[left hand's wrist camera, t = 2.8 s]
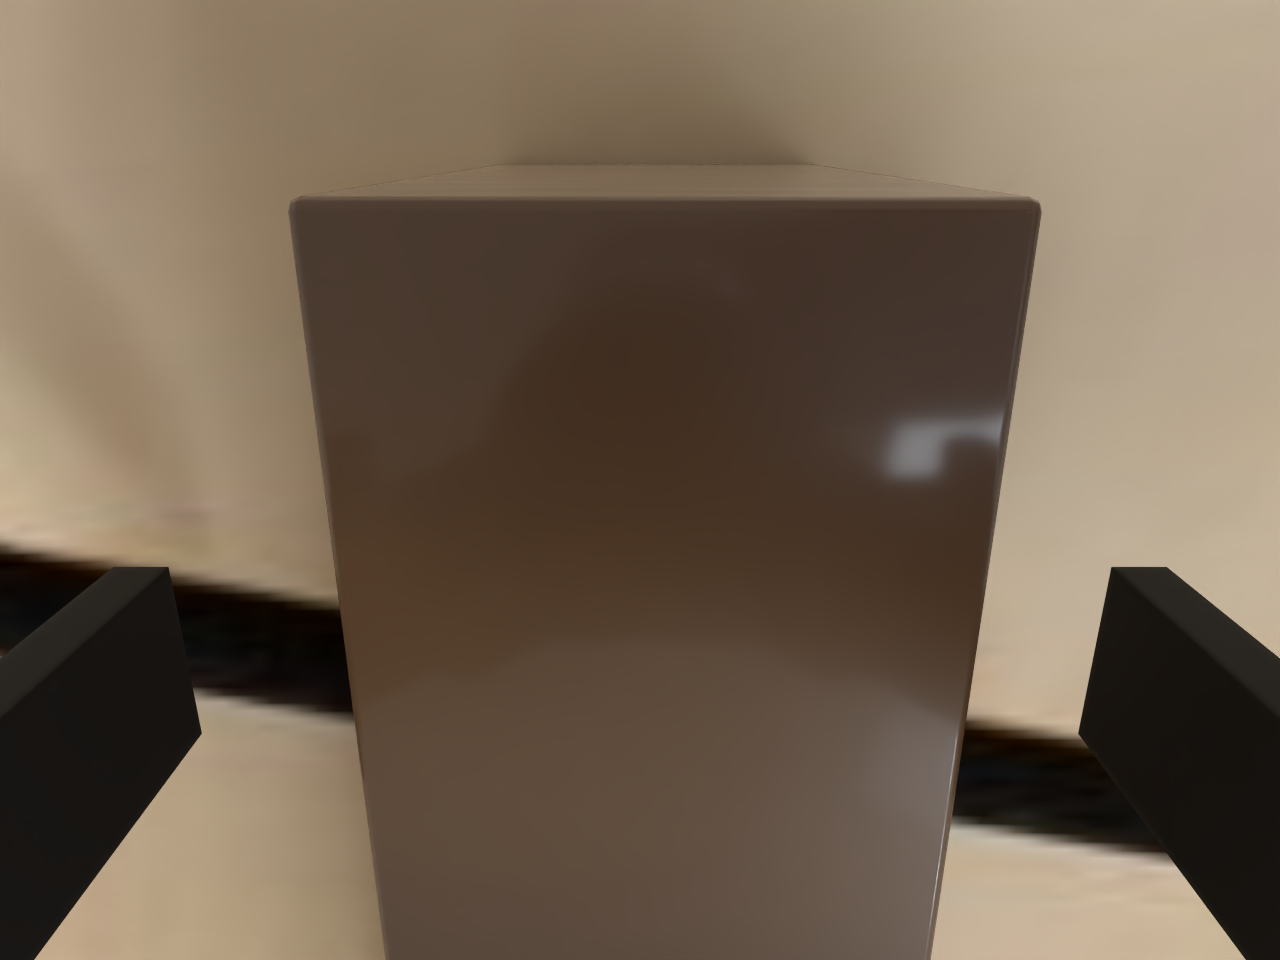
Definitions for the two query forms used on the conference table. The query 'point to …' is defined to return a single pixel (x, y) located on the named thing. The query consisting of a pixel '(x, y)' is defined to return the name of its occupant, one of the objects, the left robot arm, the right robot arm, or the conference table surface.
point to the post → (661, 545)
